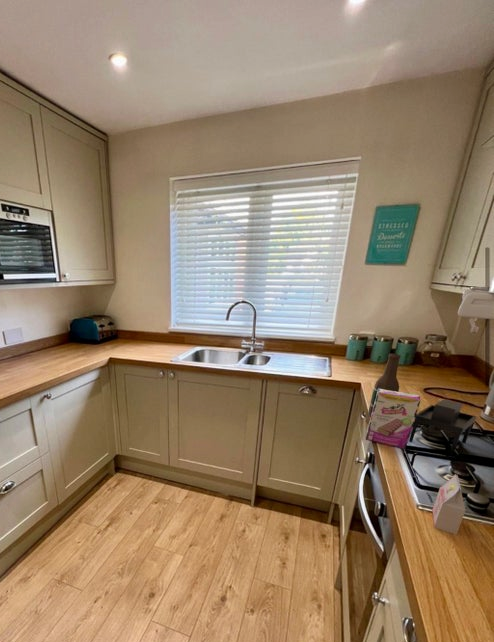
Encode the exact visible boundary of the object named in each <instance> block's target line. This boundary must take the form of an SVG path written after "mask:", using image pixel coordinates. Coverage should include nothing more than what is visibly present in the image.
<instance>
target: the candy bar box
mask: <svg viewBox="0 0 494 642" xmlns="http://www.w3.org/2000/svg"><path fill="white" fill-rule="evenodd" d="M421 401H422V400H421V396H420V395H419V394H413V393H407V392H402V391H399V392H396V391H390V390H384V389H378V391H377V395H376V399H375V403H374V407H373V410H372V414H371V418H370V417H369V422H368V426H367V429H366V430H367V431H366V435H365V441H368V442H373V443H378V444H381V445H386V446H390V447H395V448H399V449H403V450H406V448H407V445H408V443H409V438H410V435H411V431H412V428H413V425H414V421H415V417H416V414H417V413H418V410H419V407H420V404H421Z"/></svg>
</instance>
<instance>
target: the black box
mask: <svg viewBox="0 0 494 642" xmlns="http://www.w3.org/2000/svg"><path fill="white" fill-rule="evenodd" d="M434 406H435V407H434V410H433V413H432V417H431V419H433V420H437V421H440V422H444V423H447V424H452V423H453V422H454V421H455V420H457V419H458V416H459V413H460V412H461V410H462V408H463V403H461V402H456V401H452V400H449V399H444V398H443V399H441V400H440V401H438V402H437V403H435V404H434Z"/></svg>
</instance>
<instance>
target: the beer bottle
mask: <svg viewBox="0 0 494 642" xmlns="http://www.w3.org/2000/svg"><path fill="white" fill-rule="evenodd" d="M387 357H388V359H387V362H386V365H385V369H384V371H383V374H382V375H381V376H380V377H379V378H378V379H377V380H376V382H375V384H374V387H373V390H372V395H371V398H370V403H369V408H368V412H367V413H368V416H369V419H370V418H371V414H372V410H373V407H374V403H375V399H376V395H377V391H378V389H384V390H390V391H396V392H400V383H399V380H398V378H397V374H398V368H399V363H400V359H401V358H402V357H401V354H400V353H399V354H398V353H393V352H392V353H389V354H388V356H387Z"/></svg>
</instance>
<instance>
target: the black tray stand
mask: <svg viewBox="0 0 494 642" xmlns="http://www.w3.org/2000/svg"><path fill="white" fill-rule="evenodd" d="M434 407H435V404H430V405H429V406H427V407H425V408H424V409H422V410H421V411H419V412H417V414H416V417H415V420H414V423H413V427H412V430H411V433H410V436H409V440H408V443H413V442H414V438H415V435H416V432H417V428H418V425H419V423H422V424H424V427H426V428H428V429H429V426H432V427H436V428H439V429H443V430H446V431H449V432H451V433H455V435H454V438H453V441H452V444H451V447H450V450H449V452H448V456H450V455H453V456H454V454H455V451H456V448H457V445H458V443H459V440H460V437H461V435H462V434H463V433H464V434H463V437H462V439H461V443H462V444H466V443H467V440H468V437H469V434H470V432H471V429H472V426H473V424H474V423H476V419H477V415H474V414H473V415H472V414H469V413H465V412H461V411H460V413H459V416H458V419H457V420H455V421H454V422H453V423H452V424H447V423H444V422H440V421H437V420H433V419H431V417H432V413H433V410H434Z"/></svg>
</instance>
